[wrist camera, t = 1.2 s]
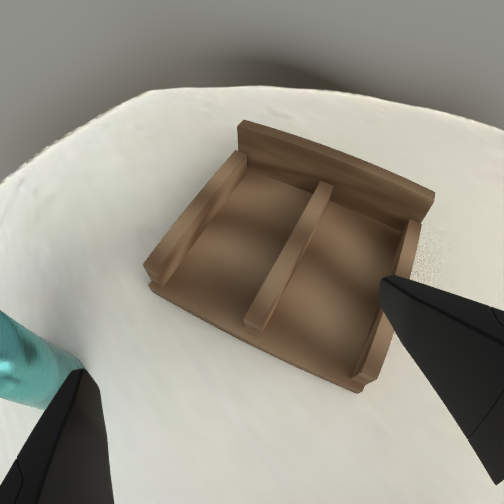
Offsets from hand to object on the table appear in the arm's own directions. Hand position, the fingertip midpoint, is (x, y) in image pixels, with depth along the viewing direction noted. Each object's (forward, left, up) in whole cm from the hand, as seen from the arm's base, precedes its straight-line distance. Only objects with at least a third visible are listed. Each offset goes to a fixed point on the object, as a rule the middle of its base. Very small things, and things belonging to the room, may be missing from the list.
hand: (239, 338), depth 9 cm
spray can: (-7, +13, -15) cm, 21 cm away
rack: (+12, +2, -15) cm, 19 cm away
